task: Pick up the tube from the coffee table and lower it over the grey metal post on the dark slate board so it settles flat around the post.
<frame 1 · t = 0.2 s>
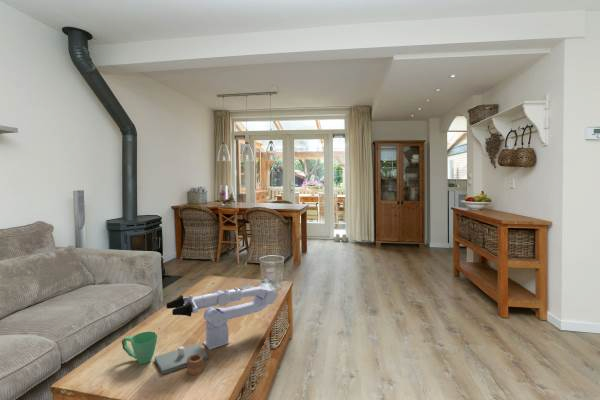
hand: (169, 309, 133), 21 cm above the table, tool horizontal, fingers open, 7 cm apart
mug: (139, 360, 133), on the table
post board: (181, 359, 134), on the table
tube: (195, 370, 126), on the table
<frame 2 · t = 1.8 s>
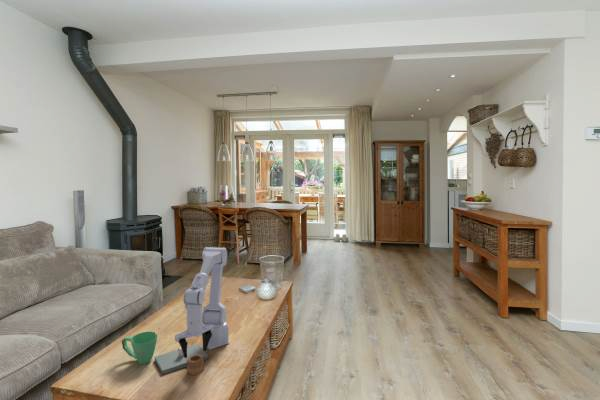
hand: (195, 353, 126), 7 cm above the table, tool pointing down, fingers open, 7 cm apart
nothing on the table moved.
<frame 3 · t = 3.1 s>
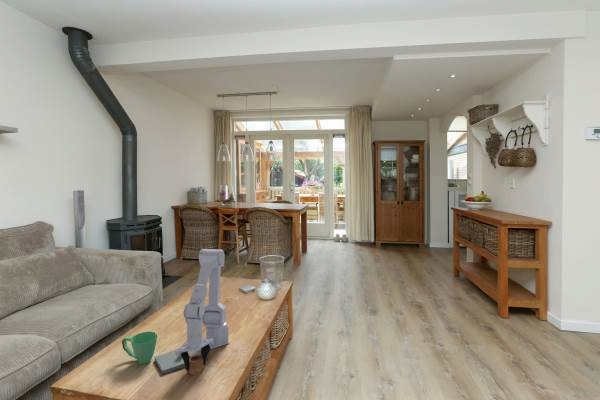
hand: (195, 367, 126), 1 cm above the table, tool pointing down, fingers closed on tube, 6 cm apart
tube: (195, 370, 126), on the table, touching gripper
everything else where it was.
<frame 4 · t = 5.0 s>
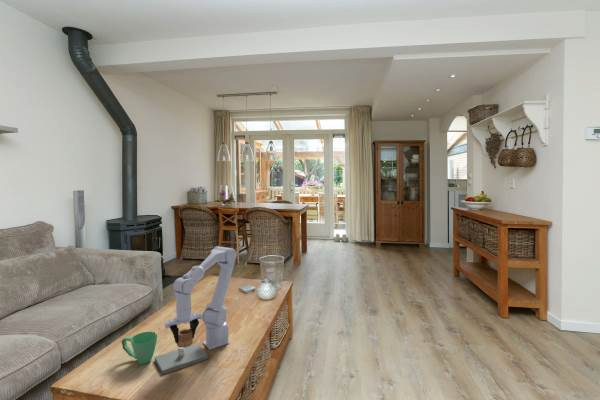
hand: (184, 340, 132), 9 cm above the table, tool pointing down, fingers closed on tube, 6 cm apart
tube: (184, 343, 131), point 8 cm above the table, touching gripper
everything else where it was.
when the fingers open (4 cm above the table, at t = 7.1 s): tube drops 1 cm, resting on post board.
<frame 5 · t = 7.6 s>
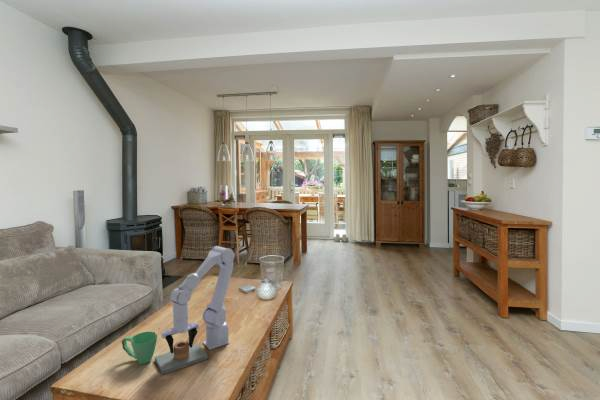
hand: (181, 349, 134), 4 cm above the table, tool pointing down, fingers open, 7 cm apart
tube: (181, 356, 134), point 1 cm above the table, touching post board
everything else where it was.
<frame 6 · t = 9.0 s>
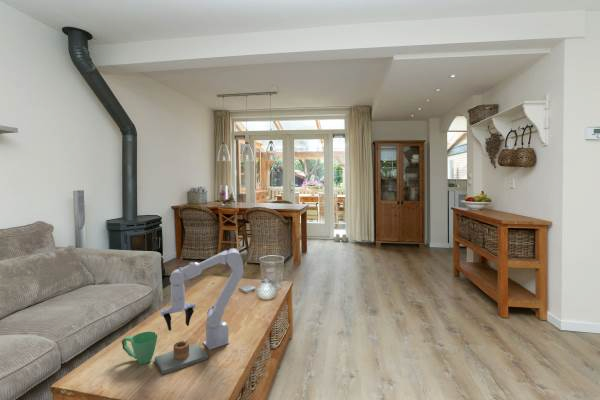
hand: (178, 327, 142), 9 cm above the table, tool pointing down, fingers open, 7 cm apart
nothing on the table moved.
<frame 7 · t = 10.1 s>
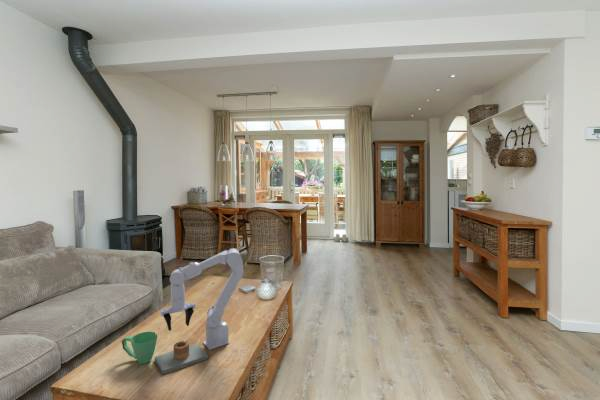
hand: (178, 327, 142), 9 cm above the table, tool pointing down, fingers open, 7 cm apart
nothing on the table moved.
at the end: tube 0.2 cm off-centre on the post board, point 1.5 cm above the post board's base; tube tilted 0°; the gripper is holding nothing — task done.
